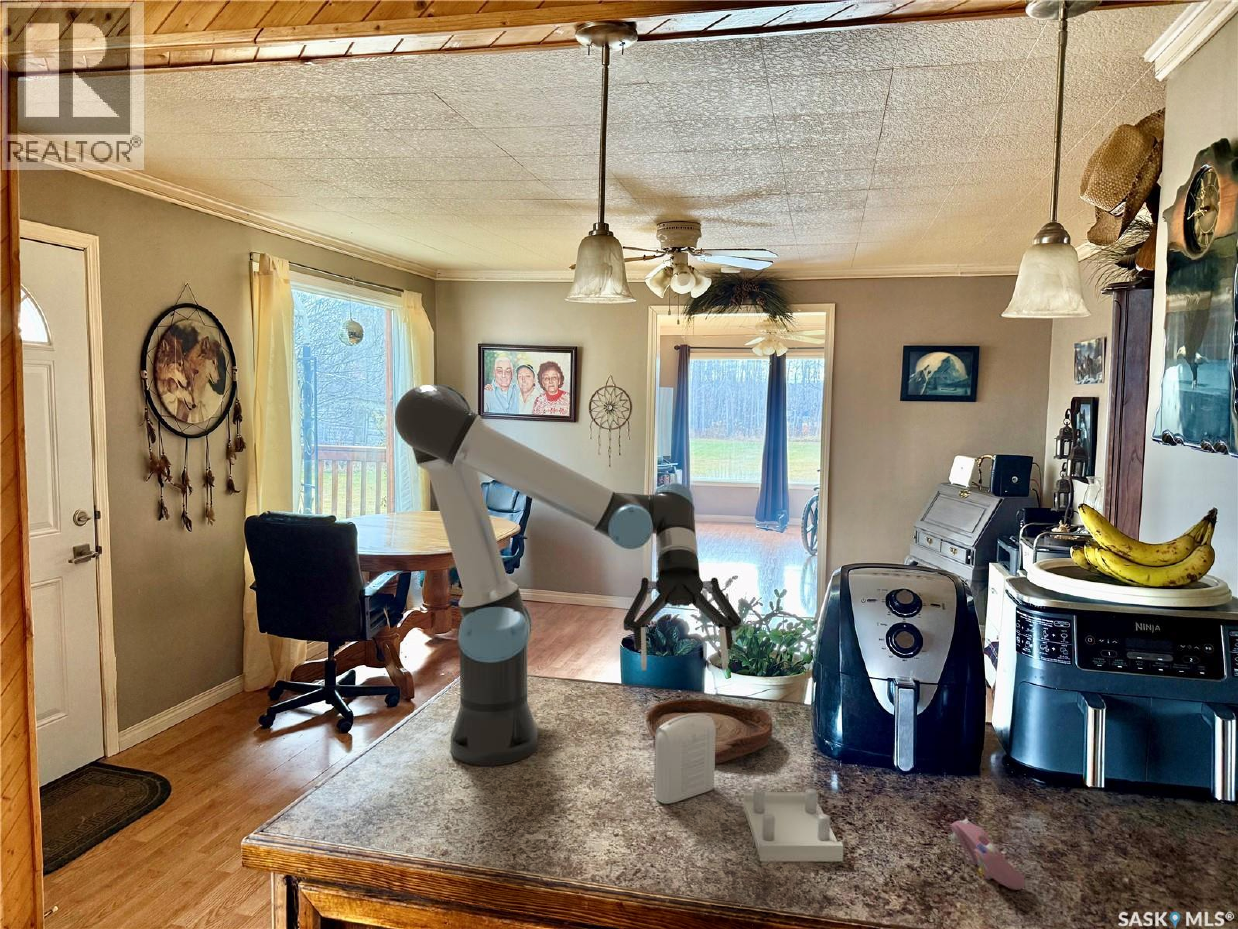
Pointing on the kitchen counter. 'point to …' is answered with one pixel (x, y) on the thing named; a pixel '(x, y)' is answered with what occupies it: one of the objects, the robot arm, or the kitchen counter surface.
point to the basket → (719, 724)
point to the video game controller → (985, 854)
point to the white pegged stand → (790, 827)
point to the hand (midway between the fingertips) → (684, 666)
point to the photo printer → (684, 757)
